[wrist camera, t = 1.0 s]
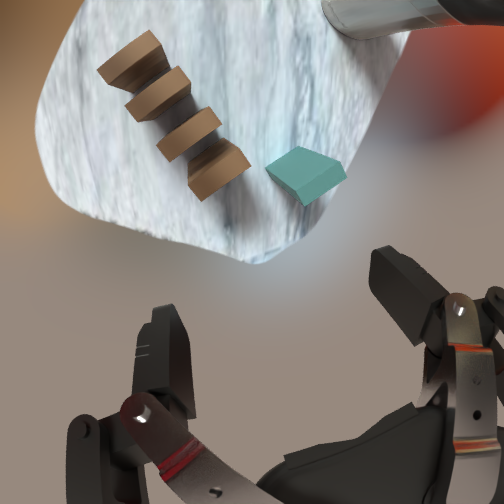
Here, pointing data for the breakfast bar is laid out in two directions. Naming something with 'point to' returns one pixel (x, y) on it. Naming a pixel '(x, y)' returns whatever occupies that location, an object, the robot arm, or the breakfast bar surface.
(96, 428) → the robot arm
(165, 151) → the domino
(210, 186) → the domino
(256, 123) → the breakfast bar surface
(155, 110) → the domino
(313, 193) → the teal domino
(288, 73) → the breakfast bar surface
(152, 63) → the domino
